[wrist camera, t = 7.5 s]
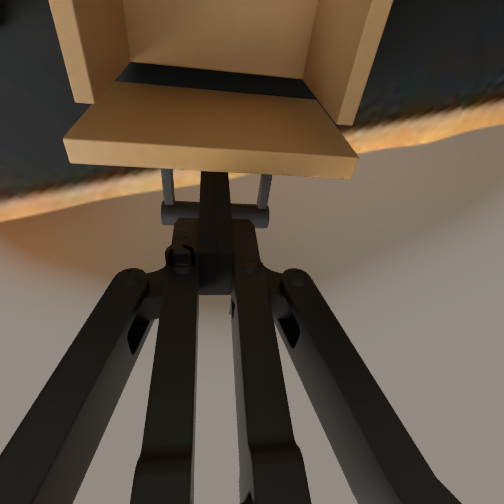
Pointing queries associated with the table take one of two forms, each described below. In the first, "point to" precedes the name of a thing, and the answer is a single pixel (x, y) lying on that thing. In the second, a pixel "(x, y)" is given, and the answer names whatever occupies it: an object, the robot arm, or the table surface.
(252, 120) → the drawer
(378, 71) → the table surface
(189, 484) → the robot arm
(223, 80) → the table surface
